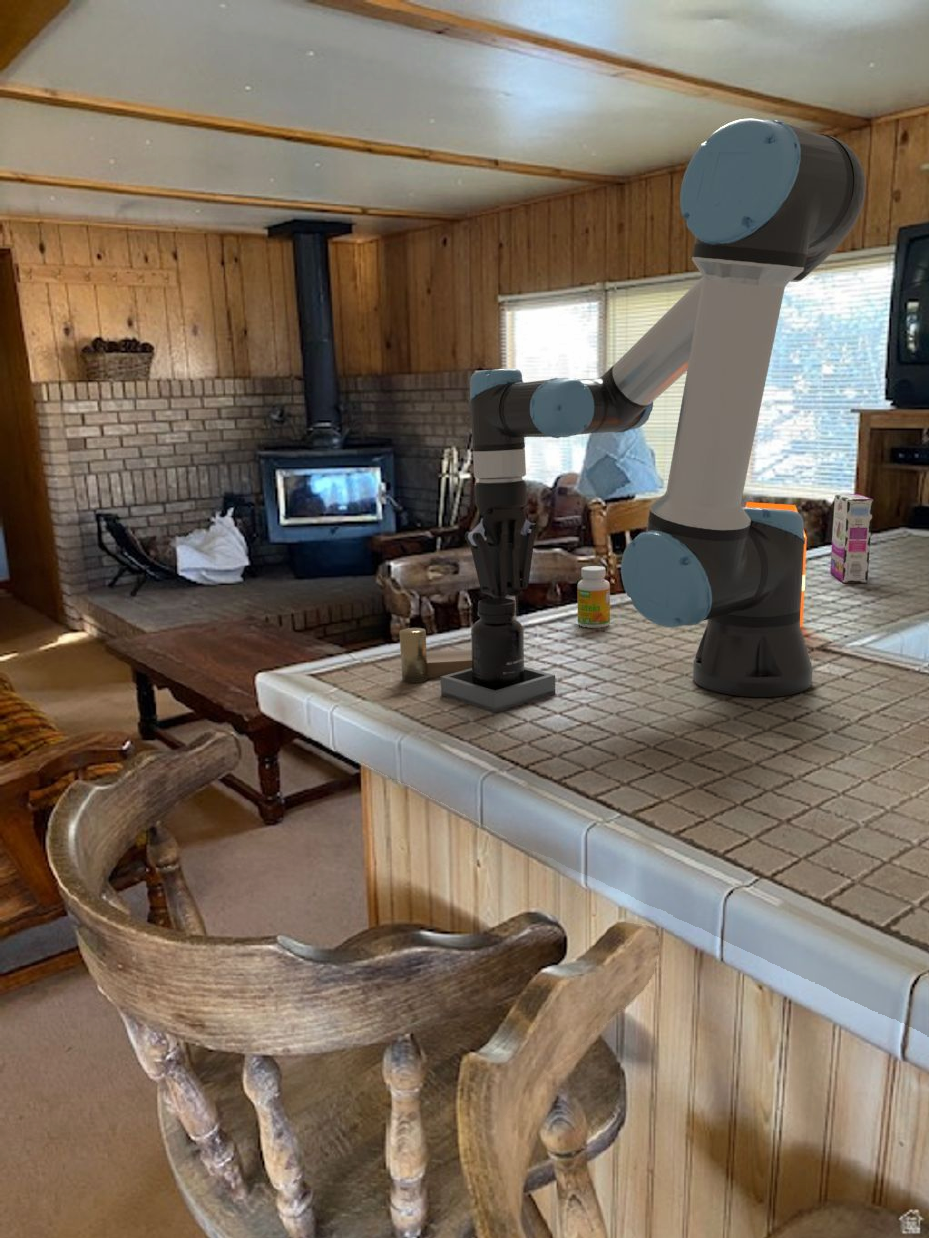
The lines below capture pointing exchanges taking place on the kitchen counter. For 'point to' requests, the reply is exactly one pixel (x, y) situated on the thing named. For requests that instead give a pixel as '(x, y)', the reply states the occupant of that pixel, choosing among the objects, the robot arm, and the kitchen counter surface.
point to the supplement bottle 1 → (497, 645)
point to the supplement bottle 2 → (593, 598)
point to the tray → (497, 700)
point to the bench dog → (413, 655)
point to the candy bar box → (851, 538)
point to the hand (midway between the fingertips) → (507, 638)
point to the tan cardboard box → (448, 662)
